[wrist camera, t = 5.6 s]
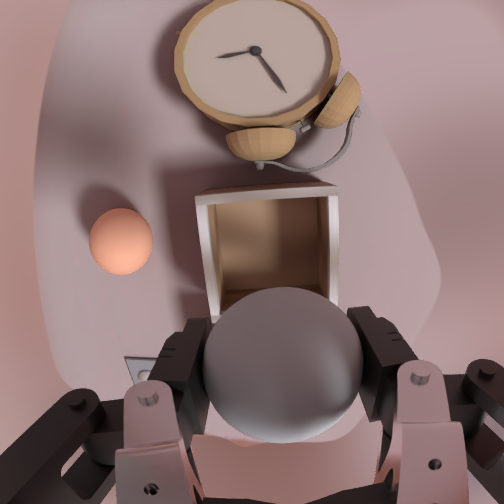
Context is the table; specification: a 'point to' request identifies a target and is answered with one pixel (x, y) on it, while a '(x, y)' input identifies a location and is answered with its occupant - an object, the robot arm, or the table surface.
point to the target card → (140, 368)
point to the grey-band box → (268, 240)
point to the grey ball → (282, 365)
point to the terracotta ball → (121, 241)
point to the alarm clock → (264, 75)
